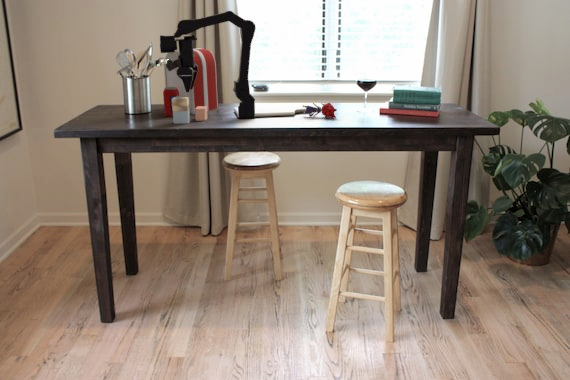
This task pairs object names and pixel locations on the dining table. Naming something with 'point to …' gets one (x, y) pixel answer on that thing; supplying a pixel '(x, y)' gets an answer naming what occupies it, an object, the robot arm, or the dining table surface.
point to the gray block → (181, 116)
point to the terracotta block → (201, 113)
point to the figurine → (326, 110)
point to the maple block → (180, 104)
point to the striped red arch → (196, 80)
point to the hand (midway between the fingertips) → (189, 90)
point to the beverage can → (169, 99)
